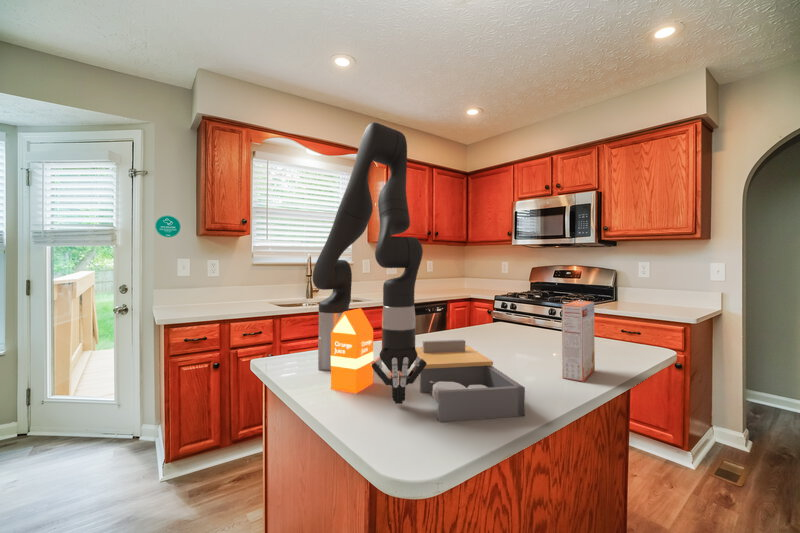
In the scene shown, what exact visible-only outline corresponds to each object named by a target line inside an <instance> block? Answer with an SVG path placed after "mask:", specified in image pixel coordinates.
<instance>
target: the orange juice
mask: <svg viewBox="0 0 800 533" xmlns="http://www.w3.org/2000/svg"><path fill="white" fill-rule="evenodd" d="M372 361H374V328H373V327H372V325H371V323H370V322H369V320H368V318H367V316H366V314H365V312H364V311H363V309H362V308H356V309H351V310H350V309H349V311H345V312H344V313H343V314H342V316H341V318H340V319H339V321H338V323H337V324H336V326H335V328H334V329H333V331H332V332H331V370H330V390H333V391H334V390H335V391H341V392H346V393H352V394H357V393H359V392H361V391H363V390H365V389H366V388H368V387H369V386H370V385H372V384H374V369H373V368H372V366H371V362H372Z"/></svg>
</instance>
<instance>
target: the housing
mask: <svg viewBox="0 0 800 533" xmlns="http://www.w3.org/2000/svg"><path fill="white" fill-rule="evenodd" d="M429 381H433V382H435V383H437V382H456V383H459V384H461V385H463V386H465V387H466V388H467V387H468V386H469V385H484V386H486V387H488V388H474V389H457V390H440V391H438V403H437V404H438V405H437V406H438V407H437V408H438V409H437V410H438V412H437V413H438V416H437V418H438V422H439V423H445V422H459V421H460V422H461V421H469V420H470V421H472V420H473V421H474V420H486V419H487V420H488V419H498V418H499V419H500V418H514V417H524V416H525V415H526V414H525V412H526V411H525V409H526V408H525V405H526V403H525V402H526V399H525V398H526V396H525V392H526V390H525V387H524V386H523V385H522V384H520V383H519V382H518V381H515V380H514V379H513V378H511V377H509V376H508V375H507V374H505V373H503V372H502V371H500V370H499V369H497V368H496V367H494V365H490V366H470V367H449V368H428V369H423V370H422V371H421V373H420V374H419V392H420V393H433V385H434V383H430V382H429Z"/></svg>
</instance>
